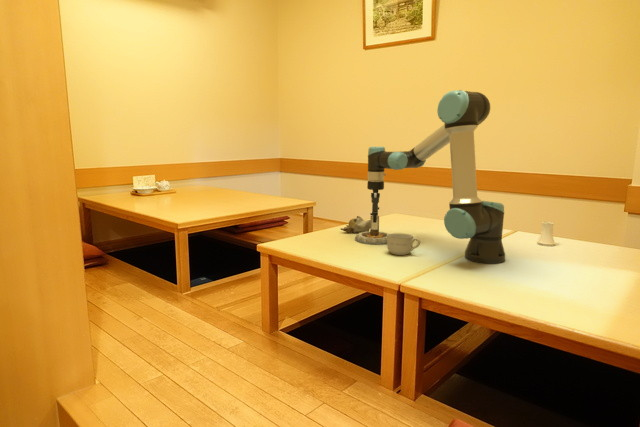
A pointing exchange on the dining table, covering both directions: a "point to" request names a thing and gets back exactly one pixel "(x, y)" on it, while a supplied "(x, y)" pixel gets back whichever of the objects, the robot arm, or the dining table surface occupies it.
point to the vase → (546, 235)
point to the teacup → (401, 243)
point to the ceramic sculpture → (357, 225)
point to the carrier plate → (371, 239)
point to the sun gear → (374, 231)
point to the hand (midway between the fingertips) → (374, 226)
